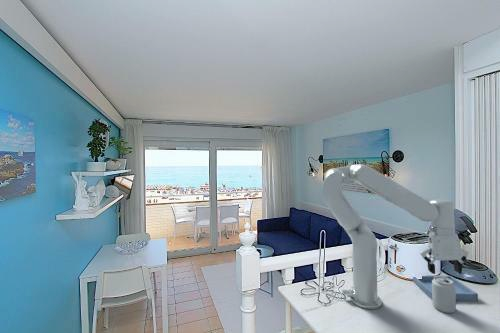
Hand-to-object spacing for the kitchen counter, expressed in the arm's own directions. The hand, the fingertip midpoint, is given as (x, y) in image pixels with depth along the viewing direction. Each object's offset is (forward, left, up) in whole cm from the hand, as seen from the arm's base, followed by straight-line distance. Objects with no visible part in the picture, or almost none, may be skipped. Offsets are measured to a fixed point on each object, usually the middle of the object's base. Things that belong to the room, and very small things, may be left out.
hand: (444, 272), depth 97 cm
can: (-1, 0, -15) cm, 15 cm away
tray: (+7, +14, -15) cm, 22 cm away
